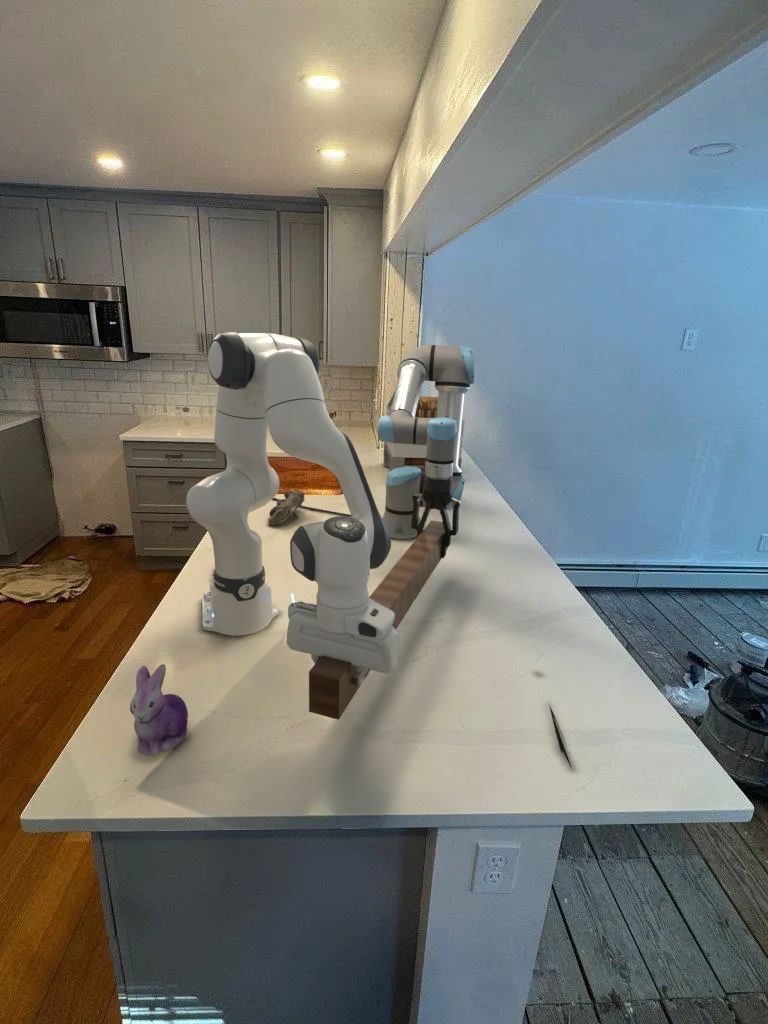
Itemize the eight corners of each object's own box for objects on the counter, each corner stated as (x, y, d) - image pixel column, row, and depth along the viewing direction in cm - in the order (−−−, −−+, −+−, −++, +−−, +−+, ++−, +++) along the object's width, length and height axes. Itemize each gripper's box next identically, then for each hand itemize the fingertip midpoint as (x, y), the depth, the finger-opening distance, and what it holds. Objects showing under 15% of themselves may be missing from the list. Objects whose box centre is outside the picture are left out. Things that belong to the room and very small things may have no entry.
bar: (429, 545, 169) (431, 520, 166) (447, 549, 167) (449, 523, 164) (308, 711, 97) (308, 671, 95) (338, 720, 96) (339, 679, 93)
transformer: (382, 463, 289) (386, 382, 275) (445, 464, 293) (451, 384, 279) (390, 482, 257) (394, 392, 243) (460, 483, 261) (468, 394, 247)
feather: (538, 678, 126) (544, 672, 125) (570, 771, 99) (578, 764, 99) (532, 674, 126) (537, 668, 125) (563, 766, 99) (570, 759, 98)
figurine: (137, 767, 96) (127, 693, 90) (132, 728, 104) (122, 659, 99) (195, 750, 100) (189, 678, 95) (185, 714, 108) (179, 646, 103)
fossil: (273, 495, 220) (302, 475, 215) (290, 514, 223) (319, 494, 218) (257, 521, 200) (288, 499, 195) (275, 541, 203) (306, 520, 198)
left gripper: (279, 607, 97) (280, 674, 102) (391, 633, 91) (387, 703, 96) (296, 591, 103) (297, 655, 108) (403, 614, 97) (399, 682, 102)
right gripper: (401, 475, 153) (397, 553, 161) (469, 484, 147) (461, 565, 155) (410, 468, 160) (405, 543, 168) (475, 477, 154) (467, 555, 162)
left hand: (340, 678), depth 102 cm, fingers closed on bar, 5 cm apart
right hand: (432, 554), depth 161 cm, fingers closed on bar, 6 cm apart
